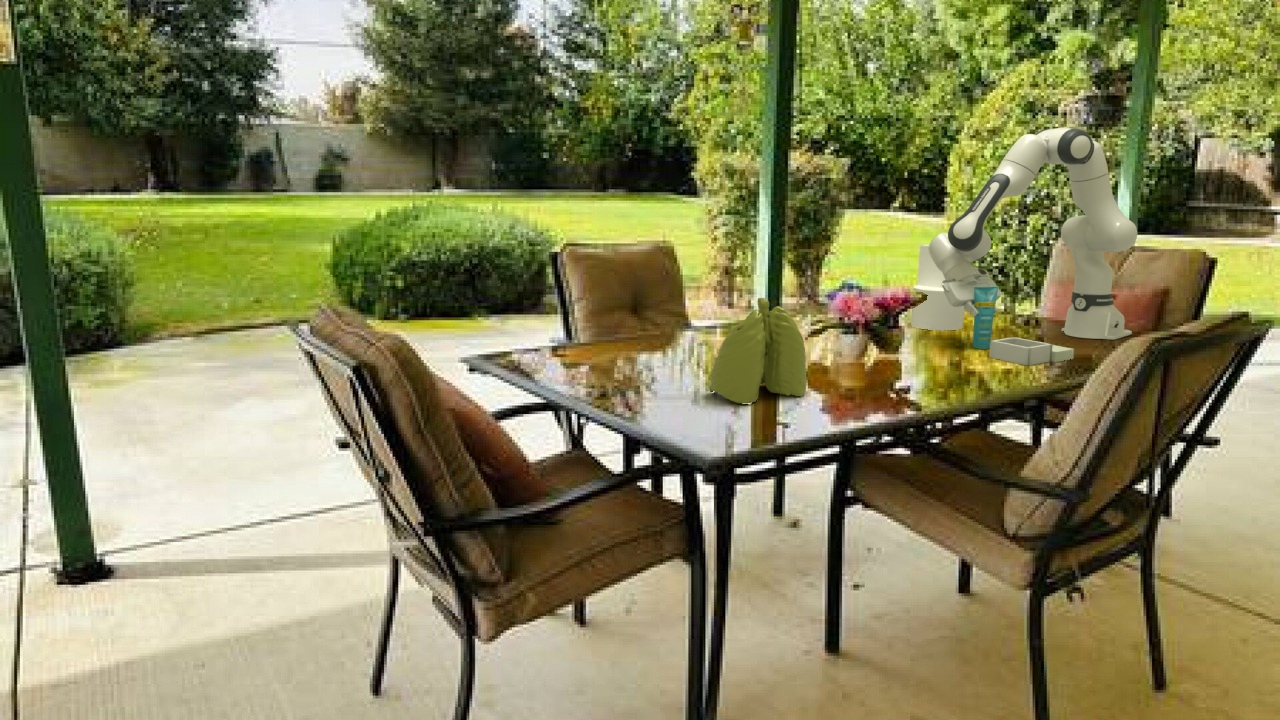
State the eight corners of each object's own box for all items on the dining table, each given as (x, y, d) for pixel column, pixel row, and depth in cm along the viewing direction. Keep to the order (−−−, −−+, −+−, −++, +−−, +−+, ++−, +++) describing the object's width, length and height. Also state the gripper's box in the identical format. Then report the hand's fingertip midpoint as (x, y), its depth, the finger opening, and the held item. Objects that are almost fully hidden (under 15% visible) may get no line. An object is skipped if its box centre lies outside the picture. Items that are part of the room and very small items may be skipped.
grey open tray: (1025, 349, 277) (1027, 333, 276) (1073, 359, 264) (1074, 342, 263) (985, 356, 268) (986, 340, 267) (1032, 366, 255) (1033, 349, 254)
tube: (974, 349, 278) (978, 287, 274) (966, 346, 282) (970, 285, 278) (996, 349, 279) (1001, 287, 275) (988, 345, 283) (993, 285, 279)
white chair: (929, 320, 329) (933, 243, 323) (972, 327, 316) (978, 246, 310) (900, 326, 318) (905, 246, 312) (944, 333, 305) (950, 250, 299)
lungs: (780, 382, 239) (782, 292, 234) (816, 395, 226) (820, 299, 220) (698, 394, 228) (699, 299, 223) (732, 408, 214) (733, 308, 209)
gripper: (945, 274, 276) (969, 310, 270) (990, 270, 286) (1014, 304, 280) (933, 287, 281) (956, 322, 275) (977, 282, 291) (1001, 316, 285)
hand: (985, 313), depth 278 cm, fingers open, 7 cm apart
